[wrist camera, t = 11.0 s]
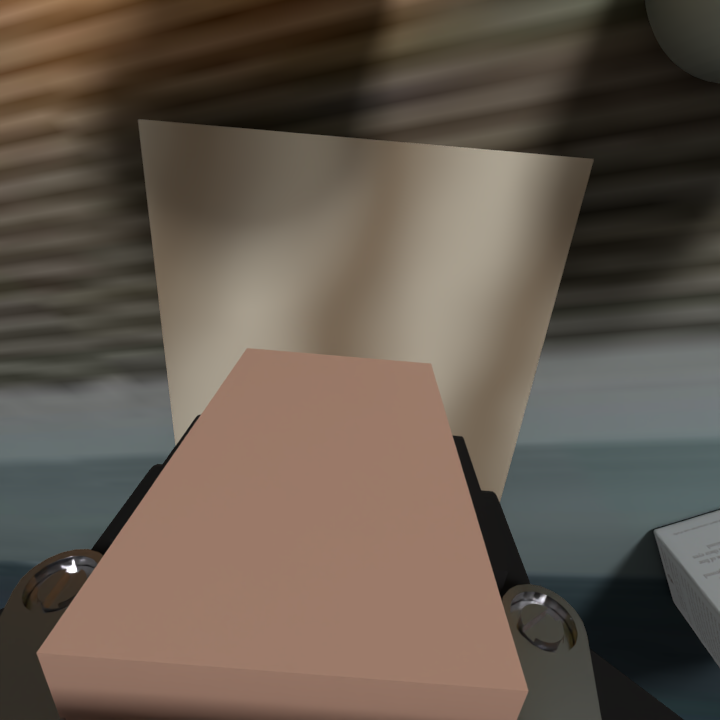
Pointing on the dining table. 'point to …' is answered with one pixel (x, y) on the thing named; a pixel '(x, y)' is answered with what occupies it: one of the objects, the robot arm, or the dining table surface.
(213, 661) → the block
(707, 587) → the small box
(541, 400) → the dining table surface
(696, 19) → the pale rounded smooth block
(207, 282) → the board
